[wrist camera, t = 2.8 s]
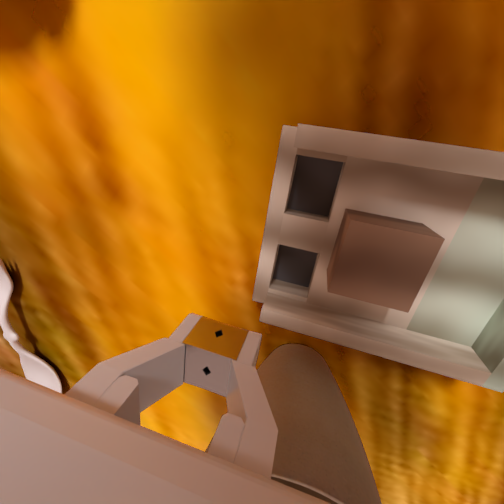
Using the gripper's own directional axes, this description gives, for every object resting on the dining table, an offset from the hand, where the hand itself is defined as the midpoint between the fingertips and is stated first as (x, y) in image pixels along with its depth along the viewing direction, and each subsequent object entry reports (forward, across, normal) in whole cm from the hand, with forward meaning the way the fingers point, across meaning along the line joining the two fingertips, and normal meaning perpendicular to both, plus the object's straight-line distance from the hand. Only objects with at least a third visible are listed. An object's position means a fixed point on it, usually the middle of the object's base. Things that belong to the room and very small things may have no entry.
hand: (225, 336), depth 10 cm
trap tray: (+17, -10, 0) cm, 20 cm away
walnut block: (+15, -8, 0) cm, 17 cm away
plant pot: (+18, -6, +18) cm, 25 cm away
